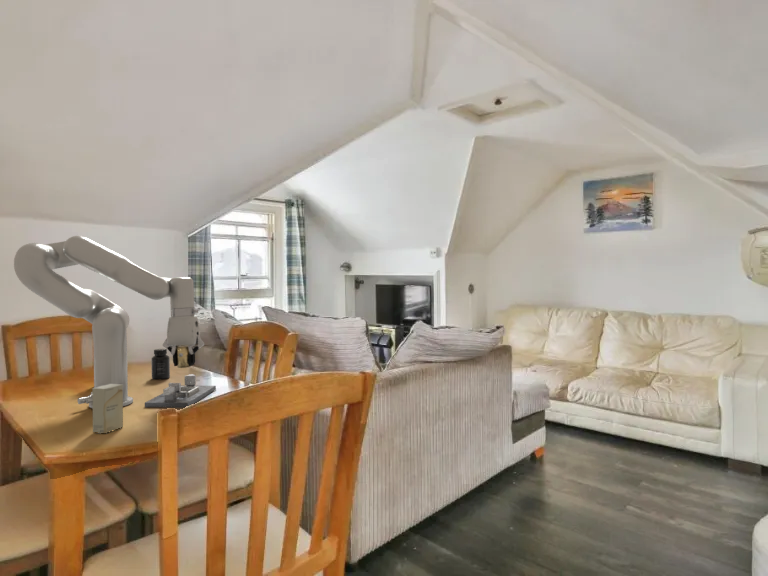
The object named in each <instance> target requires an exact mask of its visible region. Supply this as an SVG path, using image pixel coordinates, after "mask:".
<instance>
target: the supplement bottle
mask: <svg viewBox="0 0 768 576" xmlns="http://www.w3.org/2000/svg"><path fill="white" fill-rule="evenodd" d="M153 355H154V356H152V357H151V363H150V364H151V379H152V380H154V379H161V380H167V379H169V378H170V376H171V374H170V373H171V366H170V364H171V363H170V358H171V357H170V356H169V355H168V349H167V348H156V349H153Z"/></svg>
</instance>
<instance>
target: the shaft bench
mask: <svg viewBox="0 0 768 576" xmlns="http://www.w3.org/2000/svg"><path fill="white" fill-rule="evenodd" d="M196 379H197V378H196V374H194V373H191V374H188V375H184V385H183V384H182V385H181V383H182V382H169V383H168V386H167V387H166V388H163V389H162V390H163V393H161V394H159V395H157V396H154V397H153V398H151V399H149V400H147V401H145V402H144V408H174V407H175V409H176V408H179V409H180V408H184V407H186V406H189V405H191V404H193V403H194V404H196V403H197V402H199V401H201V400H202V399H204V398H206V397H207V396H208V395H210V394H212V393H213V392H215V391H216V390H217V388H216V387H217V385H196V383H197V382H196ZM214 390H215V391H214ZM211 392H212V393H211ZM194 404H193V405H194ZM191 406H192V405H191Z"/></svg>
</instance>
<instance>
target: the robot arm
mask: <svg viewBox="0 0 768 576" xmlns="http://www.w3.org/2000/svg"><path fill="white" fill-rule="evenodd" d="M77 265H80V266H82V267H84V268H86V269H88V270H91V271H93V272H94V273H96V274H98V275H101V276H103V277H104V278H106V279H109V280H111V281H112V282H115V283H117V284H119V285H123V286H124V287H126V288H128V289H130V290H131V291H134V292H136V293H138V294H140V295H142V296H144V297H146V298H148V299H151V300H154V301H157V300H162V299H165V298H169V299H170V301H169V302H170V316H169V318H168V321H167V329H166V339H164V342H163V343H162V347H164V349H167V351H168V352H170V354H171V355H172V363H173V366H174V367H177V347H178V346H188V348H189V352H190V354H189V355H188V365H189V366H191V367H192V366H194V365H195V363H196V353H197V352H198V351H199V350H200V348H202V347H204V346H205V342H204V341H203V339H202V338H201V329H200V324H199V319H198V316H197V315H196V314H198V313H199V309H196V308H195V297H194V295H195V294H194V290H195V289H194V280H193V278H191V277H190V276H189V277H188V276H186V277H185V276H183V277H182V276H177V277H162V276H158V275H157V274H154V273H152V272H150V271H149V270H146V269H145V268H142V267H140V266H138V265H137V264H136V263H133V261H130V260H129V259H128V258H127V257H125V256H124V255H121V254H119V253H118V252H115V251H114V250H112V249H109V248H107V247H105V246H104V245H102V244H99V243H98V242H95V241H94V240H92V239H91V238H88V237H85V236H84V235H72V236H71V237H68V239H66V240H64V241H59V242H51V243H46V244H44V243H38V242H30V243H26V244H24V245H21V246H20V247H19V248H18V249H17V251H16V252H15V255H14V259H13V268H14V271H15V275H16V277H17V278H18V280H19V281H20V282H21V284H22V285H23V286H24V287H26V288H27V289H28V290H30V291H31V292H32V293H34V294H35V295H38V297H40V298H42V299H43V300H45V301H47V302H48V303H49V304H51V305H53V306H55V307H56V308H58V309H59V310H61V311H62V312H64V313H66V314H67V315H68V316H69V317H72V318H76V319H84V320H85V321H87V322H88V323H90V324H91V325H92V326H91V331H92V342H93V388H96V387H100V386H104V385H108V384H122V385H123V407H125V406H128V405H130V404H132V403H133V402H134V397H132V396H129V395H128V394H129V393H128V392H129V391H128V390H129V388H128V387H129V385H128V377H129V376H128V374H129V373H128V340H127V339H128V336H127V334H128V333H127V329H128V327H129V325H130V315H129V313H128V312H127V311H126V310H125V309H123V308H122V307H120V306H119V305H118V304H116V303H114V302H113V301H111V300H109V299H108V298H107V297H105V296H103V295H101V294H100V293H98V292H97V291H95V290H93V289H90V288H85V287H80V286H79V285H77V284H74V283H73V282H71V281H70V280H68V279H67V278H66V277H64V276H62V275H60V274H59V273H58V272H55V270H58V269H62V268H67V267H72V266H77ZM195 315H196V316H195ZM77 404H78V405H81V404H83V405H84V404H87V405H88V407H89V408H90V409H93V391H91V392H90V394H89V395H88V396H82V397H79V398H77Z"/></svg>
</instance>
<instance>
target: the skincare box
mask: <svg viewBox="0 0 768 576" xmlns="http://www.w3.org/2000/svg"><path fill="white" fill-rule="evenodd" d="M92 392H93V408H92V433H93V432H98V433H97V434H101V433H106V434H108V433H107V432H109V431H112V430H115V429H118V428H120V429H122V428H121V427H123V428H124V406H123V385H122V384H108V385H104V386H100V387H96V388H94V387H92ZM118 430H119V429H118ZM115 431H116V430H115ZM112 432H113V431H112ZM109 433H110V432H109Z"/></svg>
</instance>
